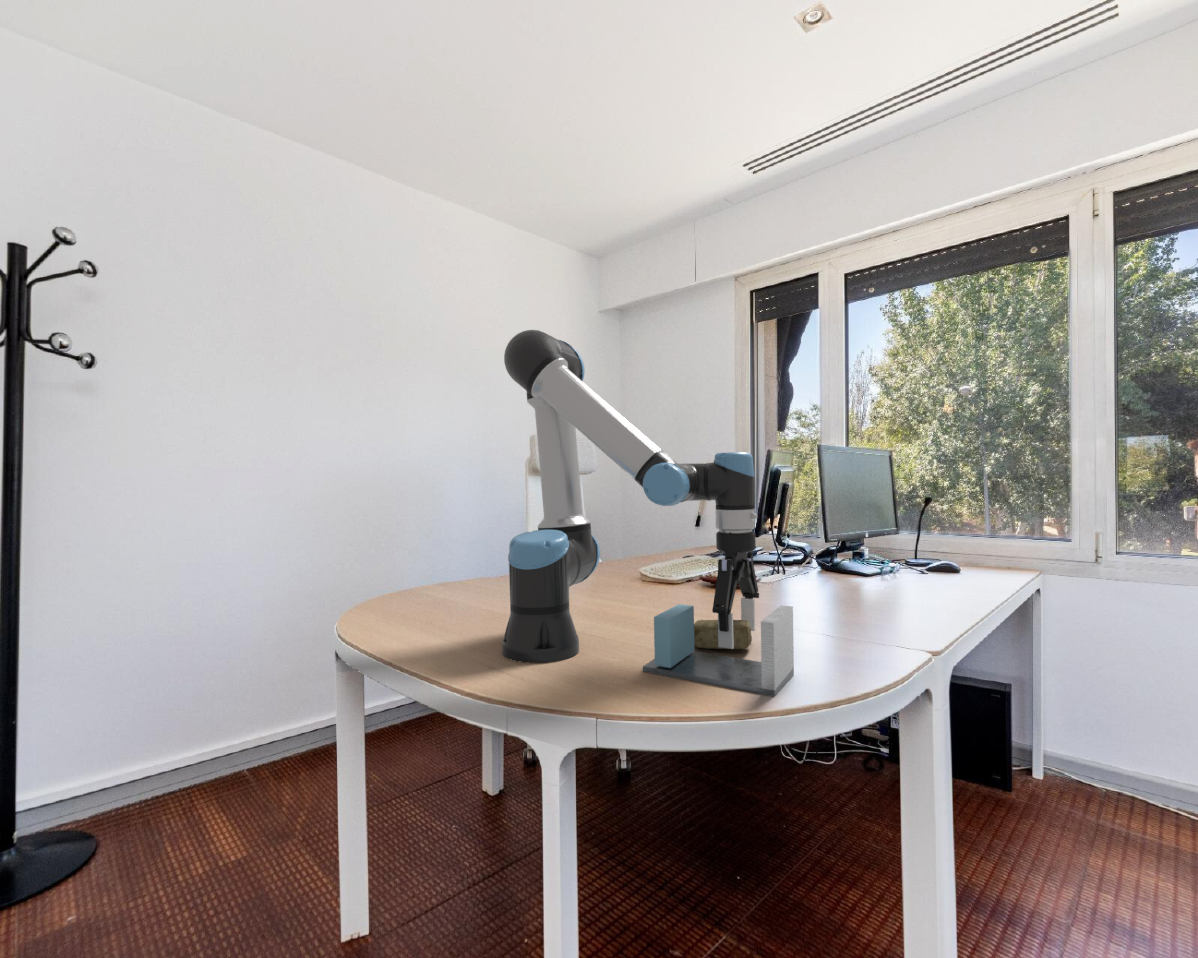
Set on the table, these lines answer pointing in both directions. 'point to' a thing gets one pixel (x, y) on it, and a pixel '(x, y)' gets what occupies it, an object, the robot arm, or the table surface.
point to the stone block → (709, 634)
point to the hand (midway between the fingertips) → (737, 638)
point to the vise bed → (744, 661)
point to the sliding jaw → (673, 635)
